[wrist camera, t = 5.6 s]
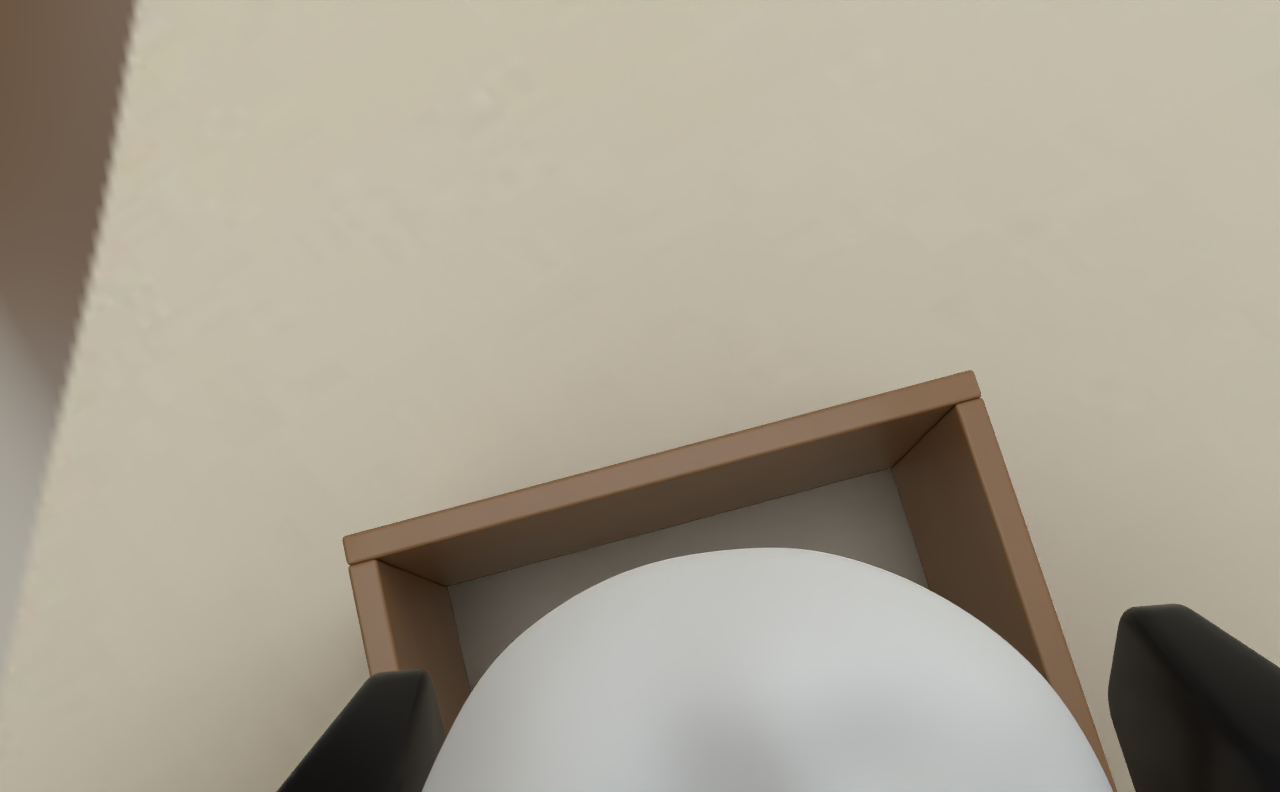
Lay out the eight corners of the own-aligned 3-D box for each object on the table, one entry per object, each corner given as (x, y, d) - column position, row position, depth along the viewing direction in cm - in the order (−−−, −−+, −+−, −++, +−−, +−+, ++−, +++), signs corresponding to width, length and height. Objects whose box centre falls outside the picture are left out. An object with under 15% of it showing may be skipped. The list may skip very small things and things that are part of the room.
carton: (1076, 971, 19) (1214, 1071, 14) (539, 1122, 19) (491, 1277, 14) (905, 440, 21) (973, 368, 16) (419, 570, 21) (340, 536, 16)
